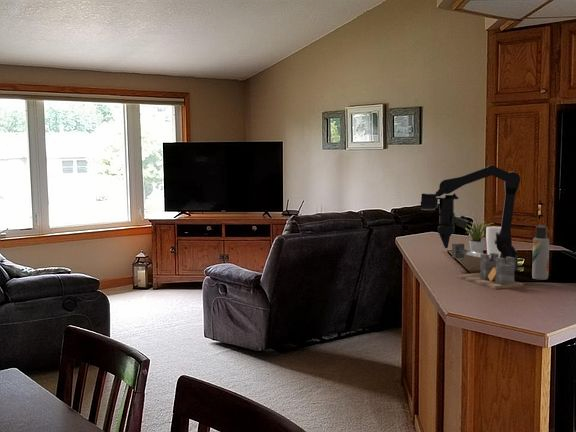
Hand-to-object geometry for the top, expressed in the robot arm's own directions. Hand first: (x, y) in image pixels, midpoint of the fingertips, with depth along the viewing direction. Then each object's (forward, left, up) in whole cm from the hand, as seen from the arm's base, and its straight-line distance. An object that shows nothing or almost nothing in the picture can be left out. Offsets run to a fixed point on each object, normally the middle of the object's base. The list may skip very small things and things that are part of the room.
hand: (446, 248), depth 266 cm
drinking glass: (-28, -6, -9) cm, 30 cm away
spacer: (0, +32, -7) cm, 32 cm away
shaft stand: (0, +28, -8) cm, 30 cm away
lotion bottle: (-21, +31, -9) cm, 38 cm away
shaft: (0, +18, -3) cm, 18 cm away
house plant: (-35, -26, -9) cm, 44 cm away
